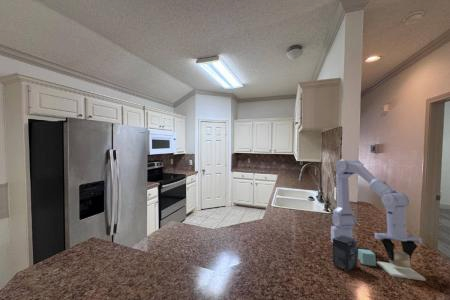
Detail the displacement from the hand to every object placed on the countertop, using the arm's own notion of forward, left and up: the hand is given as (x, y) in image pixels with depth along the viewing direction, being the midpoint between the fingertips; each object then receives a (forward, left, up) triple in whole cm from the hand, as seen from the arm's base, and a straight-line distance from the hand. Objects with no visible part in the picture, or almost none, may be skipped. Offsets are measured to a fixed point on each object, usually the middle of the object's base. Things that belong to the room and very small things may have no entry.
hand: (398, 260), depth 73 cm
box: (-19, -1, -4) cm, 20 cm away
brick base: (0, 0, -1) cm, 1 cm away
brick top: (-9, +5, -4) cm, 11 cm away
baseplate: (0, 0, -4) cm, 4 cm away
